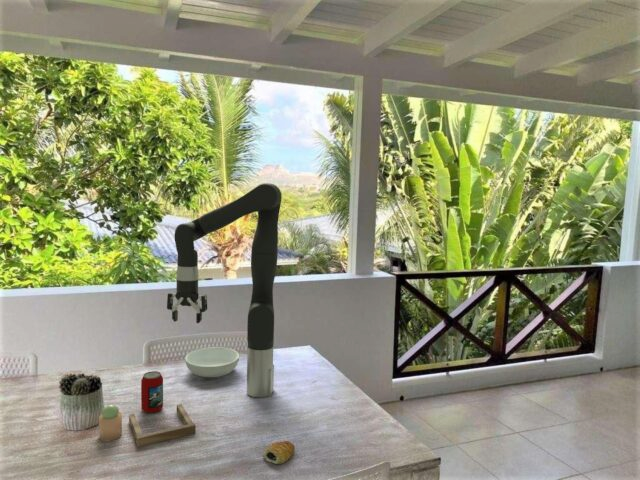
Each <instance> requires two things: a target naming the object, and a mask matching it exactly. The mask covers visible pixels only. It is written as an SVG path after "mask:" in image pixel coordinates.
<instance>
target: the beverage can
mask: <svg viewBox="0 0 640 480" xmlns="http://www.w3.org/2000/svg"><path fill="white" fill-rule="evenodd" d="M140 391H141V392H140V393H141V394H140V396H141V397H140V398H141V399H140V400H141V402H140V405H141V407H140V408H141V411H143V412H145V413H147V414H154V413H157V412H159V411H160V410H162V409H163V407H164V377H163V375H162V374H161V372H160V371H156V370H155V371H153V370H152V371H151V370H150V371H147V372H145V373H144V374H143V376H142V378H141V381H140Z"/></svg>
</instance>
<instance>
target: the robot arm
mask: <svg viewBox="0 0 640 480" xmlns="http://www.w3.org/2000/svg"><path fill="white" fill-rule="evenodd" d="M282 199H283V198H282V192H281V190H280V188H279V187H278V186H277V185H275V184H274V183H270V182H264V183H263V182H262V183H260V184H258V185H256V186H255V187H254V188H252V189H251V190H250V191H248V192H246V193H245V194H243V195H242V196H240V197H239V198H237V199H235V200H232V201H231V202H229V203H226V204H224V205H221V206H219V207H216V208H215V209H212V210H210V211H208V212H206V213H204V214H202V215H200V217H198V218H195V219H194V220H191V221H189V222H183V223H180V224H179V225H177V226H176V228H175V230H174V243H175V249H176V252H177V253H176V254H177V262H176V263H177V267H176V288H175V289H176V292H173V291H171V292H169V293H167V299H166V301H167V302H166V309H167V310H170V311H171V314H172V315H171V318H172V320H173V322H178V319H179V312H178V309H179V308H180V307H185V306H186V307H191V308H193V309H194V310H195V311H196V321H195V322H196V324H200V323H201V322H202V320H203V317H202V316H203V313H204V312H206V311H207V310H208V296H207V295H208V294H199V277H200V276H199V268H198V267H199V265H198V264H199V262H198V261H199V259H198V258H199V254H198V251H197V250H196V249H195V241H197V240H199V239H200V240H201V238H203V237H206V235H208V234H211V233H215V232H217V231H218V230H220V229H222V228H225V227H227V226H229V225H230V224H232V223H234V222H236V221H237V220H240V219H241V218H244V217H245V216H249V215H250V214H253V213H257V225H256V228H255V233H254V235H253V236H254V237H253V239H252V244H251V251H250V252H251V254H250V272H251V280H252V290H251V291H252V292H251V298H250V299H251V300H250V304H249V308H248V313H247V329H246V330H247V336H246V337H247V339H246V340H247V355H246V359H247V360H246V361H247V362H246V365H247V366H246V394H247V395H248V396H250V397H252V398H266V397H271V396H272V394H273V392H274V386H275V385H274V381H275V380H274V379H275V377H274V376H275V374H274V372H275V364H274V343H275V338H274V337H275V336H274V335H275V309H274V292H273V290H274V283H275V279H276V278H275V277H276V274H277V265H278V253H279V251H278V250H279V249H278V245H279V233H278V232H279V226H278V225H279V217H280V211H281V205H282ZM175 298H176V300H177V301H176V303H175V304H174V299H175ZM198 300H199V301H200V302H201V305H200V303H199V302H198Z"/></svg>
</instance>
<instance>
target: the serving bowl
mask: <svg viewBox="0 0 640 480" xmlns="http://www.w3.org/2000/svg"><path fill="white" fill-rule="evenodd" d="M184 359H185V360H184V361H185V364H186V368H187V369H188V370H189V372H191V373H192V374H193V375H196V376H199V377H202V378H218V377H222V376H225V375H228V374H229V373H231V372H233V371H234V370H235V369H236V368H237V366H238V363H239V360H240V354H239V352H238V351H236V350H235V349H232V348H229V347H221V346H220V347H219V346H213V347H211V346H210V347H205V348H204V347H203V348H199V349H195V350H193V351H191V352H189V353H187V355H185V358H184Z"/></svg>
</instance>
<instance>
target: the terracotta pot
mask: <svg viewBox="0 0 640 480" xmlns="http://www.w3.org/2000/svg"><path fill="white" fill-rule="evenodd" d="M122 416H123V414H122V412H121V411H119V408H118V406H117V405H115V404H108V405H107V406H104V407H103V409H102V413H101V414H100V415H99V417H98V421H99V423H98V424H99V425H98V427H99V428H98V429H99V439H100V440H101V441H104V442H106V441H107V442H110V441H114V440H117V439H118V438H120V437H122V435H123V423H122V422H123V417H122Z"/></svg>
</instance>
